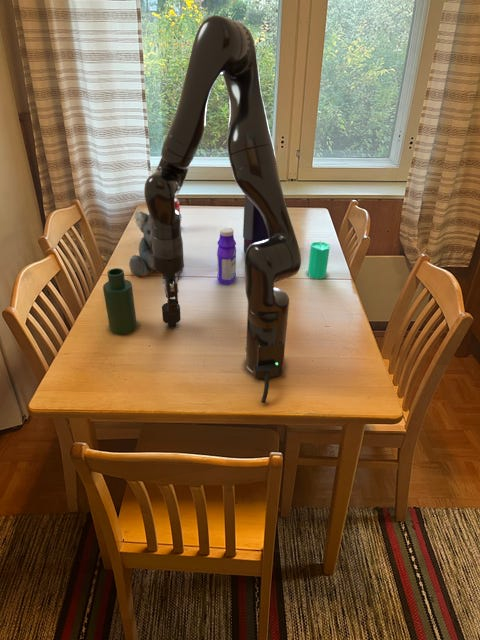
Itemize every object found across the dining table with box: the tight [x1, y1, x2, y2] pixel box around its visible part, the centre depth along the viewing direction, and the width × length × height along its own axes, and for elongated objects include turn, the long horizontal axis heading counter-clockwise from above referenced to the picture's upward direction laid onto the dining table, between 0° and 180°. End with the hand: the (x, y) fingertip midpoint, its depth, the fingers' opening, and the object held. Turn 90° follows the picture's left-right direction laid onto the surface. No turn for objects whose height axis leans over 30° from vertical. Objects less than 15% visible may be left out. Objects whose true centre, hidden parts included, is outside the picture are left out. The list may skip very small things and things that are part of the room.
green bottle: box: [102, 267, 138, 336], centre depth 124 cm, size 7×7×17 cm
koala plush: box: [128, 210, 184, 278], centre depth 153 cm, size 17×18×20 cm
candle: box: [307, 241, 331, 280], centre depth 152 cm, size 6×6×12 cm
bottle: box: [216, 226, 237, 285], centre depth 146 cm, size 7×6×17 cm
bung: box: [161, 302, 182, 329], centre depth 128 cm, size 5×5×6 cm
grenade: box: [242, 194, 269, 254], centre depth 159 cm, size 14×12×30 cm
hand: (171, 305), depth 127 cm, fingers open, 8 cm apart
